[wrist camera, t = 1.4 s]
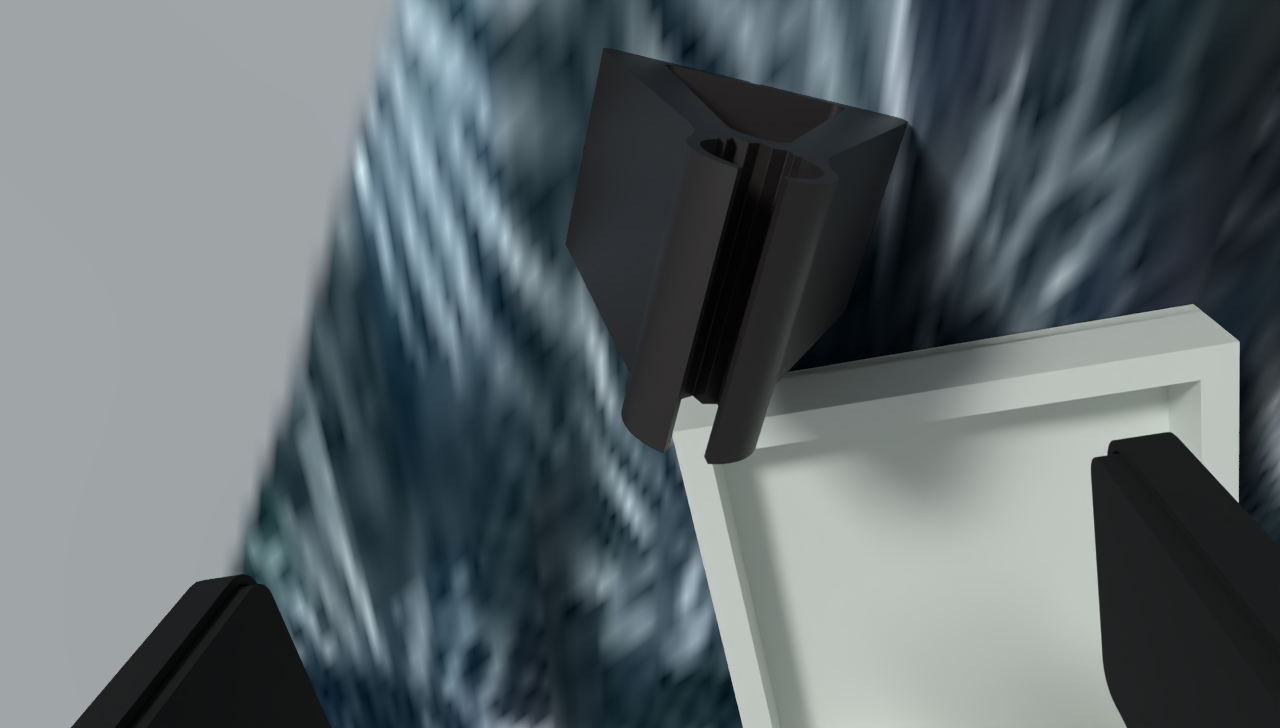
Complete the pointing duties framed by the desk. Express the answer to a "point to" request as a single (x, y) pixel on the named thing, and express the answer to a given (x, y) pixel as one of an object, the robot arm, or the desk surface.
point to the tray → (943, 522)
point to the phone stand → (720, 235)
